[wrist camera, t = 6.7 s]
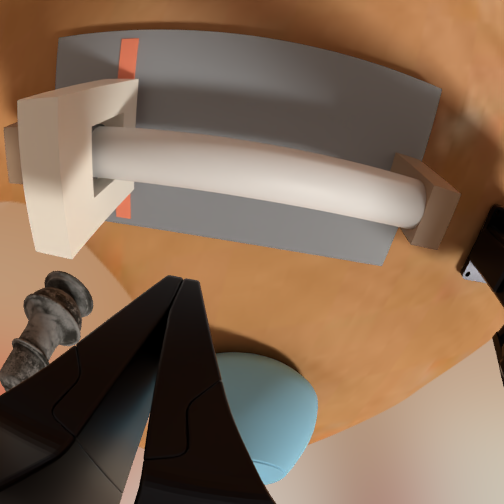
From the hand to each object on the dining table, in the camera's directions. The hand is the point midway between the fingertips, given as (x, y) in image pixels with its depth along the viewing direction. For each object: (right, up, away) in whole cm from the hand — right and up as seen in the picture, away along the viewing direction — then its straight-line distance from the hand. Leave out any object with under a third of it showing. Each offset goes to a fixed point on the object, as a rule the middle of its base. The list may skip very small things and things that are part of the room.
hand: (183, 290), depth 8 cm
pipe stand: (0, +7, +9) cm, 12 cm away
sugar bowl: (+1, -13, +23) cm, 26 cm away
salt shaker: (-15, -3, +17) cm, 23 cm away
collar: (-6, +7, +7) cm, 12 cm away
